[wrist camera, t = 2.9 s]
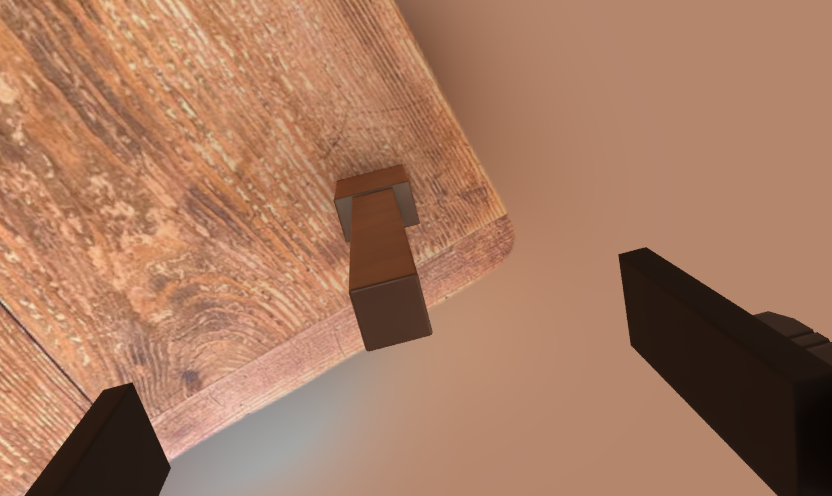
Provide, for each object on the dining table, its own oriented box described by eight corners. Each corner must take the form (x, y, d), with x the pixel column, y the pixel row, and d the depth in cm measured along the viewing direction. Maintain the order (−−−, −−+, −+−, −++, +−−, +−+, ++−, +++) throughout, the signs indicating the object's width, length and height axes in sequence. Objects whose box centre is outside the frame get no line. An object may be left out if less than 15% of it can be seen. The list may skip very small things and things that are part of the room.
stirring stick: (402, 163, 35) (445, 262, 18) (411, 202, 36) (461, 331, 19) (336, 180, 35) (318, 295, 18) (347, 218, 36) (339, 363, 19)
